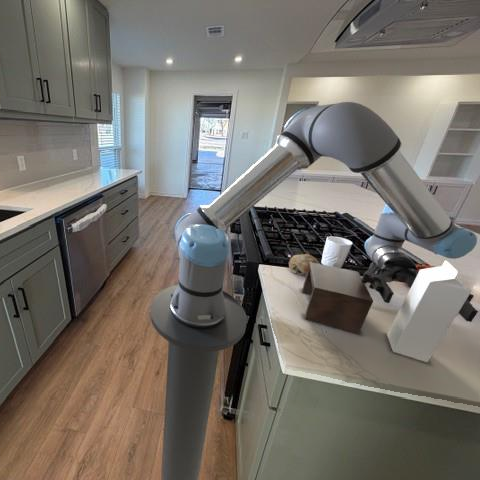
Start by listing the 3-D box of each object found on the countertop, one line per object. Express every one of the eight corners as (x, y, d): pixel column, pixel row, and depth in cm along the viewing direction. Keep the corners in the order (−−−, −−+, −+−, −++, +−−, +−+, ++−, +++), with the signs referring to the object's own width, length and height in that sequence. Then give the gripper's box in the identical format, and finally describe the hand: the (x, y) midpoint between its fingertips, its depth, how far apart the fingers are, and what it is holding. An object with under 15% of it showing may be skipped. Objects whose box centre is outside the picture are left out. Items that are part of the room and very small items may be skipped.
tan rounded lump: (283, 276, 94) (283, 261, 89) (296, 258, 98) (297, 243, 93) (312, 287, 88) (314, 272, 82) (324, 268, 92) (327, 252, 87)
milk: (392, 351, 58) (436, 267, 49) (386, 335, 63) (425, 255, 54) (428, 363, 55) (481, 276, 46) (419, 344, 60) (465, 263, 51)
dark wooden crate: (304, 319, 67) (314, 287, 63) (301, 290, 80) (310, 262, 76) (358, 334, 63) (373, 301, 59) (346, 300, 75) (358, 271, 71)
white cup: (332, 259, 100) (339, 235, 96) (348, 269, 93) (357, 244, 89) (314, 260, 99) (321, 236, 95) (330, 270, 92) (338, 245, 88)
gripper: (445, 286, 69) (500, 339, 51) (338, 265, 78) (353, 304, 60) (459, 262, 66) (523, 309, 48) (346, 243, 75) (364, 277, 57)
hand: (428, 306), depth 54 cm, fingers open, 13 cm apart
